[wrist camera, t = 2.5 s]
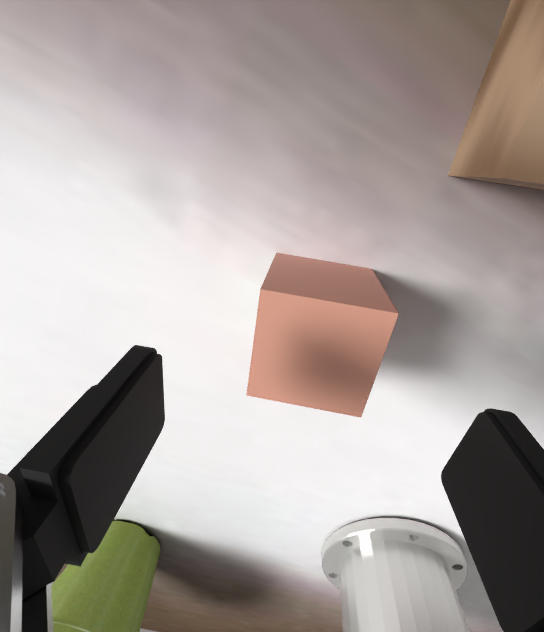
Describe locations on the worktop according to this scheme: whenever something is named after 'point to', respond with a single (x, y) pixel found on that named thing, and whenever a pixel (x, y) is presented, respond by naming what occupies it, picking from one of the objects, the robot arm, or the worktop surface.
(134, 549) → the plant pot
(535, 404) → the worktop surface
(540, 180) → the lower block
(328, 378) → the pink cube
